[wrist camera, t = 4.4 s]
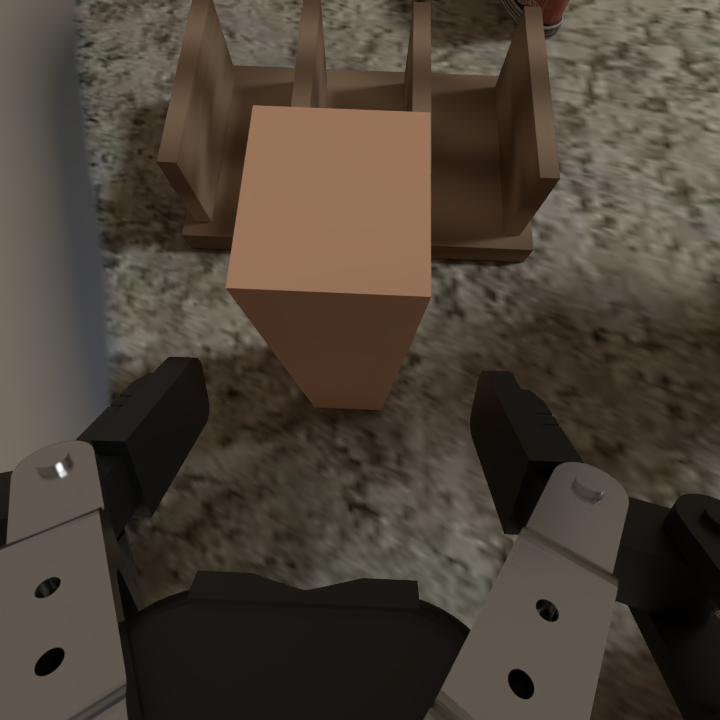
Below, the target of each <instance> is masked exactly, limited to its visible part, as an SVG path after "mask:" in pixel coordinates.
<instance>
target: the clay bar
mask: <svg viewBox="0 0 720 720" xmlns="http://www.w3.org/2000/svg"><path fill="white" fill-rule="evenodd" d="M226 289H227V290H228V292H229V293H230V294H231V296H232V297H233V298H234V300H235V301H236V302H237V304H238V305H239V306H240V308H241V309H242V311H243V312H244V313H245V315H246V316H247V317H248V319H249V320H250V321H251V323H252V324H253V325H254V327H255V328H256V329H257V331H258V332H259V333H260V335H261V336H262V337H263V339H264V340H265V341H266V343H267V344H268V345H269V347H270V348H271V350H272V351H273V352H274V354H275V355H276V356H277V358H278V359H279V360H280V362H281V363H282V364H283V366H284V367H285V368H286V370H287V371H288V372H289V374H290V375H291V376H292V378H293V379H294V380H295V382H296V383H297V384H298V386H299V387H300V388H301V390H302V391H303V393H304V394H305V395H306V397H307V398H308V399H309V401H310V402H311V403H312V405H313V406H314V407H318V408H340V409H362V410H382V409H383V407H384V404H385V402H386V400H387V397H388V395H389V393H390V390H391V388H392V386H393V384H394V381H395V379H396V377H397V374H398V372H399V370H400V367H401V365H402V363H403V361H404V358H405V356H406V354H407V351H408V349H409V347H410V344H411V342H412V340H413V337H414V335H415V333H416V331H417V328H418V326H419V324H420V321H421V319H422V317H423V314H424V312H425V310H426V308H427V305H428V303H429V301H430V298H431V131H430V112H406V111H381V110H357V109H332V108H307V107H282V106H258V105H253V108H252V115H251V122H250V128H249V135H248V142H247V148H246V155H245V162H244V168H243V175H242V182H241V189H240V195H239V202H238V209H237V215H236V222H235V229H234V235H233V242H232V249H231V256H230V262H229V269H228V276H227V282H226Z"/></svg>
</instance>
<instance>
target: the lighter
mask: <svg viewBox="0 0 720 720" xmlns="http://www.w3.org/2000/svg"><path fill="white" fill-rule="evenodd" d="M501 1H502V3H503V5H504V6H505V8H506V10H507V11H508V12H509V14H510V15H511V16H512V17H513V19H514V20H515V21H516V22H517V24H518V22H519V20H520V17H521V14H522V11H523V9H524V6H528V7H541V8H542V17H543V27H544V36H545V39H550V38H552V37H554V36H555V35H556V34H557V32H558V30H559V27H560V25H561V23H562V21H563V13H564V11H565V9H566V6H567V4H568V2H569V0H501Z"/></svg>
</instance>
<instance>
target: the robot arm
mask: <svg viewBox="0 0 720 720" xmlns="http://www.w3.org/2000/svg"><path fill="white" fill-rule="evenodd" d="M208 416H209V400H208V395H207V390H206V385H205V380H204V374H203V369H202V365H201V362H200V360H199V359H198V358H189V357H168V358H167V359H166V360H165V361H164V362H163V363H162V364H161V365H160V366H159V367H158V368H157V370H156V371H155V372H154V373H148V374H147V375H145V376H143V377H141V378H140V379H138V380H136V381H134V382H133V383H131V384H130V385H129V386H128V387H127V388H126V389H125V390H124V391H123V392H122V393H121V394H120V397H118V398H117V399H116V400H115V401H114V402H113V403H112V404H111V407H108V408H107V409H106V410H105V411H104V412H103V413H102V414H101V415H100V416H99V417H98V418H97V419H96V420H95V421H94V422H93V423H92V424H91V425H90V426H89V427H88V428H87V429H86V430H85V431H84V432H83V433H82V434H81V435H80V436H79V437H78V438H77V439H76V440H75V441H64V442H59V443H56V444H52V445H49V446H46V447H44V448H42V449H40V450H38V451H36V452H34V453H32V454H31V455H29V456H28V457H26V458H25V459H24V460H22V461H21V462H20V463H19V464H18V465H17V466H16V468H15V469H14V471H10V472H4V473H0V720H590V716H591V711H592V706H593V702H594V697H595V692H596V688H597V683H598V678H599V674H600V669H601V664H602V660H603V655H604V651H605V646H606V641H607V637H608V632H609V627H610V623H611V618H612V613H613V609H614V604H615V601H617V602H620V603H623V604H626V605H628V607H629V609H630V611H631V613H632V615H633V617H634V619H635V621H636V623H637V625H638V627H639V629H640V631H641V633H642V635H643V637H644V639H645V641H646V643H647V645H648V647H649V649H650V651H651V654H652V656H653V658H654V660H655V662H656V664H657V666H658V668H659V670H660V672H661V674H662V676H663V678H664V680H665V682H666V684H667V686H668V688H669V690H670V692H671V694H672V696H673V698H674V700H675V702H676V704H677V706H678V708H679V710H680V712H681V714H682V716H683V719H684V720H720V621H719V620H718V618H717V617H716V615H715V613H716V612H717V611H718V610H720V500H718V499H716V498H713V497H710V496H706V495H701V494H685V495H682V496H680V497H679V498H678V499H677V501H676V502H675V504H674V505H673V507H672V508H671V509H670V508H667V507H663V506H659V505H656V504H652V503H648V502H645V501H641V500H638V499H634V498H631V497H628V495H627V493H626V491H625V490H624V488H623V487H622V486H621V485H620V483H619V482H618V481H616V480H615V479H614V478H613V477H612V476H610V475H609V474H607V473H606V472H604V471H602V470H600V469H598V468H596V467H593V466H591V465H587V464H585V463H584V462H583V460H582V459H581V457H580V456H579V454H578V453H577V451H576V450H575V448H574V447H573V445H572V444H571V442H570V441H569V439H568V438H567V436H566V435H565V433H564V431H563V430H562V428H561V427H559V424H558V422H557V421H556V419H555V418H554V416H552V413H551V412H550V410H549V409H548V407H547V406H546V404H545V403H544V401H543V400H541V399H540V398H539V397H538V396H536V395H535V394H534V393H532V392H531V391H530V390H522V389H521V388H520V386H519V385H518V383H517V381H516V380H515V378H514V376H513V375H512V373H511V372H507V371H482V372H481V373H480V376H479V379H478V384H477V388H476V393H475V398H474V402H473V407H472V411H471V417H470V430H471V436H472V439H473V442H474V445H475V448H476V451H477V454H478V457H479V460H480V463H481V466H482V469H483V472H484V475H485V478H486V480H487V483H488V486H489V489H490V492H491V495H492V498H493V501H494V504H495V507H496V510H497V513H498V516H499V519H500V522H501V525H502V528H503V531H504V534H517V535H518V537H517V539H516V541H515V543H514V545H513V547H512V549H511V551H510V553H509V555H508V557H507V559H506V561H505V563H504V565H503V567H502V569H501V571H500V573H499V575H498V577H497V579H496V581H495V583H494V585H493V587H492V589H491V591H490V593H489V595H488V597H487V599H486V601H485V603H484V605H483V607H482V609H481V611H480V613H479V615H478V617H477V619H476V621H475V623H474V625H473V627H472V629H471V630H470V629H469V628H468V627H467V626H466V625H464V624H463V623H462V622H461V621H459V620H458V619H457V618H455V617H454V616H453V615H451V614H449V613H448V612H446V611H444V610H443V609H441V608H439V607H437V606H435V605H433V604H431V603H428V602H426V601H423V600H420V599H419V594H418V584H417V581H412V580H390V579H368V578H362V579H358V580H353V581H348V582H344V583H339V584H335V585H330V586H325V587H321V588H316V589H312V590H301V589H298V588H295V587H292V586H289V585H286V584H283V583H280V582H277V581H273V580H270V579H267V578H264V577H261V576H258V575H255V574H252V573H236V572H214V571H197V574H196V576H195V579H194V581H193V584H192V586H191V589H190V590H187V591H183V592H180V593H177V594H174V595H171V596H168V597H166V598H164V599H162V600H159V601H157V602H155V603H153V604H151V605H150V606H148V607H146V606H145V603H144V600H143V596H142V592H141V588H140V584H139V579H138V575H137V571H136V566H135V562H134V557H133V553H132V549H131V544H130V540H129V536H128V532H127V530H126V527H125V526H126V524H127V523H128V521H129V519H130V518H131V516H144V517H152V515H153V514H154V512H155V510H156V509H157V507H158V505H159V503H160V502H161V500H162V498H163V497H164V495H165V493H166V491H167V490H168V488H169V486H170V485H171V483H172V481H173V479H174V478H175V476H176V474H177V473H178V471H179V469H180V467H181V466H182V464H183V462H184V461H185V459H186V457H187V455H188V454H189V452H190V450H191V449H192V447H193V445H194V443H195V442H196V440H197V438H198V437H199V435H200V433H201V431H202V430H203V428H204V426H205V424H206V422H207V420H208Z"/></svg>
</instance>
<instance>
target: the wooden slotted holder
mask: <svg viewBox="0 0 720 720" xmlns="http://www.w3.org/2000/svg"><path fill="white" fill-rule="evenodd" d="M253 105H258V106H282V107H307V108H332V109H357V110H381V111H406V112H430V131H431V258H438V259H462V260H485V261H508V262H524V261H525V259H526V258H527V257H528V256H529V254H530V253H531V252H532V251H533V242H532V230H531V219H532V218H533V216H534V215H535V213H536V212H537V211H538V209H539V208H540V206H541V205H542V203H543V202H544V201H545V199H546V198H547V196H548V195H549V193H550V192H551V191H552V189H553V188H554V186H555V185H556V184H557V182H558V181H559V179H560V173H559V164H558V155H557V146H556V137H555V128H554V118H553V109H552V100H551V91H550V82H549V72H548V63H547V54H546V45H545V36H544V27H543V17H542V8H541V7H528V6H524V9H523V11H522V14H521V17H520V20H519V22H518V25H517V28H516V31H515V33H514V36H513V39H512V42H511V44H510V47H509V50H508V53H507V56H506V58H505V61H504V64H503V67H502V69H501V72H500V75H499V76H483V75H458V74H433V73H431V3H425V2H414V4H413V12H412V21H411V29H410V37H409V46H408V54H407V62H406V70H405V72H383V71H358V70H333V69H326V61H325V49H324V36H323V24H322V11H321V0H303V7H302V16H301V24H300V33H299V41H298V50H297V59H296V67H295V68H283V67H258V66H233V64H232V61H231V58H230V55H229V51H228V48H227V45H226V42H225V38H224V35H223V32H222V29H221V26H220V22H219V19H218V16H217V13H216V10H215V6H214V3H213V0H192V4H191V9H190V13H189V18H188V22H187V27H186V31H185V36H184V40H183V45H182V49H181V54H180V58H179V63H178V67H177V72H176V76H175V81H174V85H173V90H172V94H171V99H170V103H169V108H168V112H167V117H166V121H165V126H164V130H163V135H162V139H161V144H160V148H159V153H158V157H157V163H158V165H159V166H160V168H161V169H162V171H163V172H164V174H165V175H166V177H167V178H168V180H169V181H170V183H171V184H172V186H173V187H174V189H175V190H176V192H177V193H178V195H179V196H180V198H181V199H182V201H183V202H184V204H185V205H186V207H187V210H186V215H185V220H184V225H183V231H182V236H183V237H184V239H185V240H186V241H187V242H188V244H189V245H190V246H191V248H206V249H230V250H231V249H232V242H233V235H234V229H235V222H236V215H237V209H238V202H239V195H240V189H241V182H242V175H243V168H244V162H245V155H246V148H247V142H248V135H249V128H250V122H251V115H252V108H253Z"/></svg>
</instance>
